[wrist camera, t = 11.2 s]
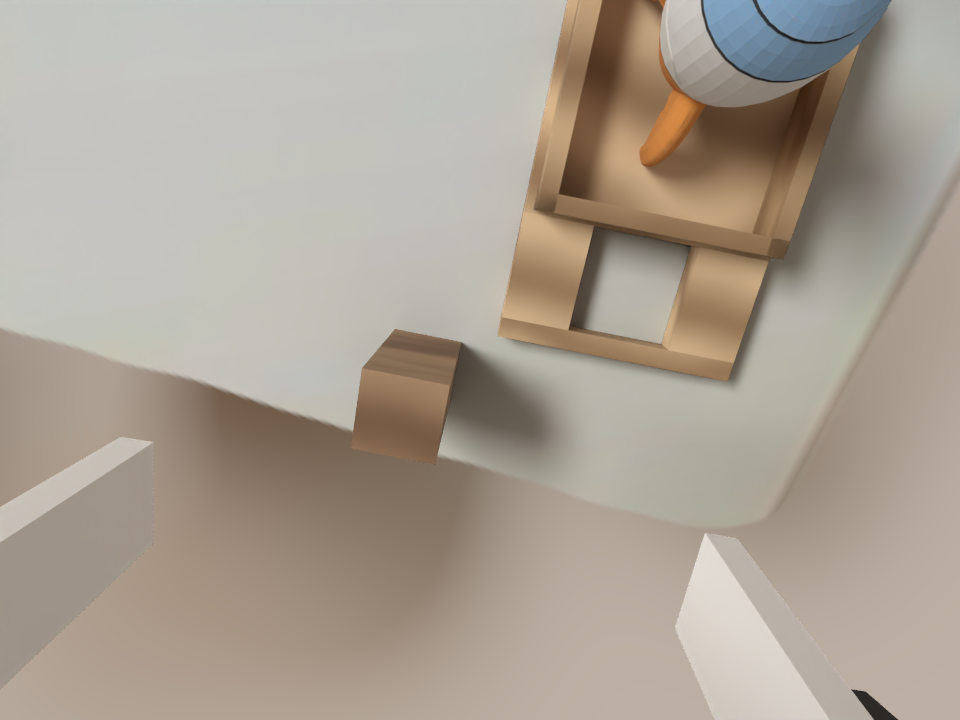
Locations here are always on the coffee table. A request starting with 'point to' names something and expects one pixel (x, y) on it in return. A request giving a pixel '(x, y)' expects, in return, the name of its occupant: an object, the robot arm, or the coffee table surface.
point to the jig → (658, 190)
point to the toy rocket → (747, 54)
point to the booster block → (406, 396)
